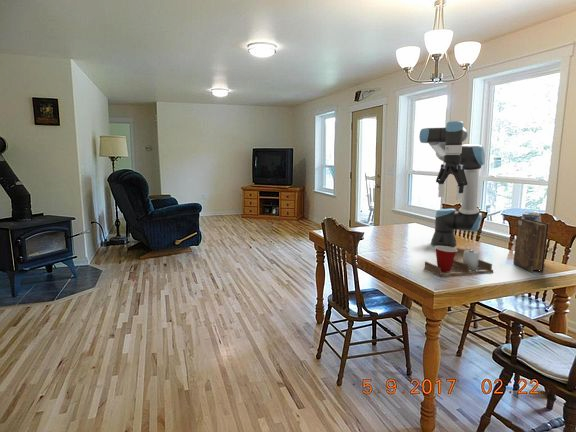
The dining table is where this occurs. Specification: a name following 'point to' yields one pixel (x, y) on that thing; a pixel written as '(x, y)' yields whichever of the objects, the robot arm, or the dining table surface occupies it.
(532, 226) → the book
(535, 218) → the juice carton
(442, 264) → the plastic cup
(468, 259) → the stoneware jar
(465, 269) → the comb rack
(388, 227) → the dining table surface
